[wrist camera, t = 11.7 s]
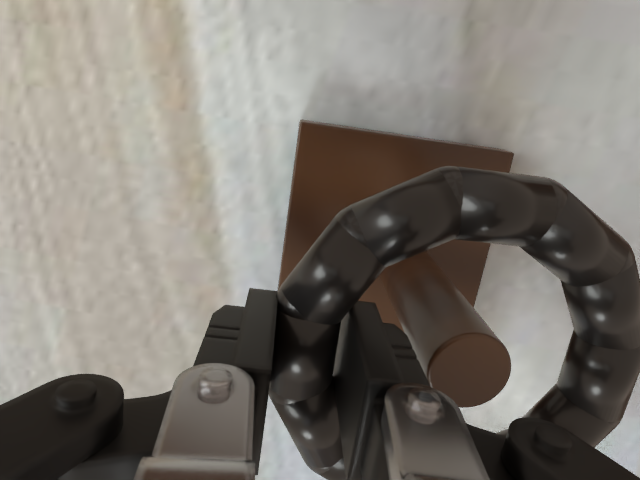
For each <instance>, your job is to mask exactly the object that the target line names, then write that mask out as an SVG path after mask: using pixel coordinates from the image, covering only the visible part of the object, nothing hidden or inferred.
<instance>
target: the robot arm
mask: <svg viewBox="0 0 640 480" xmlns="http://www.w3.org/2000/svg"><path fill="white" fill-rule="evenodd" d="M277 292H278V291H270V290H262V289H253V288H250V289H249V293H248V297H247V301H246V305H245V307H240V306H231V305H225V306H223V307H222V308H220V309H219V310H217V311H216V312H215V313H213V315H212V318H211V320H210V323H209V327H208V328H207V331H206V334H205V337H204V339H203V341H202V344H201V347H200V349H199V352H198V355H197V357H196V360H195V363H194V365H193V367H191V368H188V369H187V370H185V371H183V372H182V373H181V374H180V375H179V376H178V377H177V378H176V380H175V382H174V385H173V388H172V390H171V391H169V392H166V393H163V394H159V395H155V396H149V397H142V398H133V399H124V392H123V389H122V387H121V385H120V384H119V383H118V382H116V381H115V380H113V379H111V378H109V377H106V376H102V375H96V374H77V375H70V376H66V377H62V378H58V379H55V380H53V381H50V382H48V383H46V384H44V385H42V386H40V387H38V388H35V389H33V390H31V391H29V392H27V393H25V394H23V395H21V396H19V397H17V398H15V399H12V400H10V401H8V402H6V403H4V404H2V405H0V480H255V475H258V468H259V461H260V453H261V446H262V438H263V431H264V423H265V416H266V408H267V401H268V393H269V386H270V378H271V371H272V360H273V348H274V337H275V326H276V314H277V303H278V299H277V296H276V295H277ZM333 377H334V380H335V396H336V404H337V412H338V420H339V428H340V435H341V443H342V451H343V459H344V467H345V475H346V480H640V478H639V477H637V476H636V475H634V474H633V473H631V472H630V471H628V470H627V469H625V468H624V467H622V466H621V465H619V464H618V463H616V462H615V461H613V460H612V459H610V458H609V457H607V456H606V455H604V454H603V453H601V452H600V451H598V450H597V449H595V448H594V447H592V446H591V445H589V444H588V443H586V442H585V441H583V440H582V439H580V438H579V437H577V436H576V435H574V434H573V433H571V432H570V431H568V430H566V429H565V428H563V427H561V426H559V425H556V424H554V423H552V422H549V421H546V420H542V419H538V418H529V417H525V418H519V419H516V420H514V421H512V423H511V424H510V426H509V429H508V432H507V435H506V436H502V435H499V434H496V433H493V432H490V431H486V430H483V429H480V428H477V427H474V426H471V425H469V424H467V423H465V420H464V418H463V416H462V413H461V411H460V409H459V407H458V406H457V404H456V403H455V402H454V401H453V400H452V399H451V398H450V397H449V396H447V395H446V394H444V393H443V392H441V391H439V390H437V389H435V388H432V387H430V384H429V382H428V380H427V378H426V376H425V373H424V371H423V369H422V367H421V365H420V362H419V360H418V359H417V356H416V354H415V351H414V349H412V345H411V343H410V340H409V338H408V336H407V335H406V334H405V333H404V332H403V331H402V330H401V329H400V328H398V327H397V326H396V325H395V324H391V323H383V322H382V319H381V316H380V314H379V311H378V308H377V306H376V303H374V302H365V301H357V302H356V304H355V305H354V306H353V307H352V308H351V309H350V311H349V312H348V313H347V314H346V316H345V317H344V318H343V319H342V320H341V326H340V332H339V339H338V345H337V352H336V358H335V364H334V371H333Z"/></svg>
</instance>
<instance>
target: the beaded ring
mask: <svg viewBox="0 0 640 480" xmlns="http://www.w3.org/2000/svg"><path fill="white" fill-rule="evenodd" d="M454 239H456V240H465V241H475V242H484V243H493V244H503V245H512V246H519V247H521V248H522V249H523V250H524V251H526V252H527V253H528V254H529V255H531V256H532V257H533V258H534V259H536V260H537V261H538V262H539V263H541V264H542V265H543V266H544V267H546V268H547V269H548V270H549V271H551V272H552V273H553V274H554V275H556V276H557V277H558V278H559V279H560V280H561V283H562V287H563V290H564V294H565V298H566V301H567V305H568V309H569V312H570V316H571V320H572V323H573V327H574V331H573V334H572V337H571V340H570V343H569V346H568V350H567V353H566V356H565V359H564V362H563V365H562V368H561V372H560V375H559V378H558V381H557V383H556V384H555V385H554V386H553V387H552V388H551V389H550V390H549V391H548V392H547V393H546V394H545V395H544V396H543V397H542V398H541V399H540V400H539V401H538V402H537V403H536V404H535V405H534V406H533V407H532V408H531V409H530V410H529V412H528V413H527V414H526V415H525V416H524V417H523V418H525V417H529V418H538V419H542V420H546V421H549V422H552V423H554V424H556V425H559V426H561V427H563V428H565V429H566V430H568V431H570V432H571V433H573V434H574V435H576V436H577V437H579V438H580V439H582V440H583V441H585V442H586V443H588V444H589V445H591V446H592V447H595V446H596V445H597V444H599V443H600V442H601V441H602V440H603V439H604V438H605V437H606V436H607V435H608V434H609V433H610V432H611V431H612V430H613V429H614V428H616V426H617V425H618V424H619V423H620V421H621V419H622V417H623V415H624V412H625V409H626V407H627V404H628V401H629V399H630V396H631V393H632V391H633V388H634V385H635V383H636V380H637V377H638V375H639V372H640V279H639V274H638V270H637V265H636V260H635V256H634V253H633V251H632V248H631V247H630V245H629V244H628V243H627V242H626V241H625V239H624V238H622V237H621V236H620V235H619V234H618V233H617V232H615V231H614V230H613V229H612V228H611V227H610V226H609V225H607V224H606V223H605V222H604V221H603V220H602V219H601V218H599V217H598V216H597V215H596V214H595V213H594V212H593V211H591V210H590V209H589V208H588V207H587V206H586V205H585V204H583V203H582V202H581V201H580V200H579V199H578V198H577V197H575V196H574V195H573V194H572V193H571V192H570V191H569V190H567V189H566V188H565V187H564V186H563V185H561V184H560V183H558V182H557V181H555V180H552V179H550V178H545V177H539V176H530V175H522V174H514V173H506V172H498V171H490V170H482V169H473V168H465V167H457V166H444V167H439V168H437V169H434V170H431V171H429V172H427V173H424V174H422V175H419V176H417V177H415V178H412V179H410V180H408V181H405V182H403V183H400V184H398V185H396V186H393V187H391V188H389V189H386V190H384V191H381V192H379V193H377V194H374V195H372V196H370V197H367V198H365V199H362V200H360V201H358V202H355V203H353V204H351V205H349V206H347V207H345V208H343V209H342V210H341V211H340V212H339V213H338V214H337V215H336V216H335V217H334V218H333V220H332V221H331V222H330V223H329V225H328V226H327V227H326V228H325V230H324V231H323V232H322V234H321V235H320V236H319V237H318V239H317V240H316V241H315V243H314V244H313V245H312V246H311V248H310V249H309V250H308V251H307V253H306V254H305V255H304V257H303V258H302V259H301V260H300V262H299V263H298V264H297V265H296V267H295V268H294V269H293V271H292V272H291V273H290V274H289V276H288V277H287V278H286V280H285V281H284V282H283V283H282V285H281V286H280V288H279V289H278V292H277V295H276V296H277V299H278V303H277V314H276V326H275V337H274V348H273V360H272V371H271V378H270V386H269V393H268V394H269V396H270V398H271V400H272V402H273V404H274V406H275V408H276V410H277V411H278V413H279V415H280V417H281V419H282V421H283V423H284V424H285V426H286V428H287V430H288V432H289V434H290V435H291V437H292V439H293V441H294V443H295V445H296V447H297V448H298V450H299V452H300V454H301V456H302V458H303V460H304V461H305V463H306V464H307V466H308V467H309V468H310V469H311V470H313V471H314V472H315V473H317V474H319V475H321V476H322V477H324V478H326V479H328V480H346V475H345V467H344V459H343V451H342V443H341V435H340V428H339V420H338V412H337V404H336V396H335V380H334V377H333V371H334V364H335V358H336V352H337V345H338V339H339V332H340V326H341V320H342V319H343V318H344V317H345V316H346V314H347V313H348V312H349V311H350V309H351V308H352V307H353V306H354V305H355V304H356V302H357V301H358V300H359V299H360V298H361V296H362V295H363V294H364V293H365V292H366V290H367V289H368V288H369V287H370V286H371V284H372V283H373V282H374V281H375V280H376V278H377V277H378V276H379V275H380V274H381V272H382V271H383V270H384V269H385V268H386V267H388V266H390V265H393V264H395V263H398V262H400V261H403V260H405V259H407V258H410V257H412V256H415V255H417V254H420V253H422V252H425V251H427V250H429V249H432V248H434V247H437V246H439V245H442V244H444V243H446V242H449V241H451V240H454ZM507 432H508V429H506V430H503V431H501V432H498V433H496V434H499V435H502V436H506V435H507Z"/></svg>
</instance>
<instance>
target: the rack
mask: <svg viewBox="0 0 640 480" xmlns="http://www.w3.org/2000/svg"><path fill="white" fill-rule="evenodd" d="M513 156H514V153H512V152H509V151H505V150H501V149H496V148H490V147H483V146H476V145H469V144H463V143H456V142H449V141H442V140H436V139H429V138H422V137H415V136H409V135H402V134H395V133H388V132H382V131H375V130H368V129H361V128H355V127H348V126H341V125H334V124H328V123H321V122H314V121H307V120H300V122H299V130H298V138H297V146H296V153H295V161H294V169H293V176H292V184H291V192H290V199H289V207H288V215H287V223H286V230H285V238H284V246H283V253H282V261H281V269H280V276H279V284H278V289H279V288H280V286H281V285H282V283H283V282H284V281H285V280H286V278H287V277H288V276H289V274H290V273H291V272H292V271H293V269H294V268H295V267H296V265H297V264H298V263H299V262H300V260H301V259H302V258H303V257H304V255H305V254H306V253H307V251H308V250H309V249H310V248H311V246H312V245H313V244H314V243H315V241H316V240H317V239H318V237H319V236H320V235H321V234H322V232H323V231H324V230H325V228H326V227H327V226H328V225H329V223H330V222H331V221H332V220H333V218H334V217H335V216H336V215H337V214H338V213H339V212H340V211H341V210H342V209H343V208H345V207H347V206H349V205H351V204H353V203H355V202H358V201H360V200H362V199H365V198H367V197H370V196H372V195H374V194H377V193H379V192H381V191H384V190H386V189H389V188H391V187H393V186H396V185H398V184H400V183H403V182H405V181H408V180H410V179H412V178H415V177H417V176H419V175H422V174H424V173H427V172H429V171H431V170H434V169H437V168H439V167H444V166H457V167H465V168H473V169H482V170H490V171H498V172H506V173H509V171H510V168H511V164H512V160H513ZM489 247H490V243H484V242H475V241H465V240H456V239H454V240H451V241H449V242H446V243H444V244H442V245H439V246H437V247H434V248H432V249H429V250H427V251H425V252H422V253H420V254H417V255H415V256H412V257H410V258H407V259H405V260H403V261H400V262H398V263H395V264H393V265H390V266H388V267H386V268H385V269H384V270H383V271H382V272H381V274H380V275H379V276H378V277H377V278H376V280H375V281H374V282H373V283H372V284H371V286H370V287H369V288H368V289H367V290H366V292H365V293H364V294H363V295H362V296H361V298H360V299H359V300H358V301H365V302H374V303H376V306H377V308H378V311H379V314H380V316H381V319H382V322H383V323H391V324H395V325H396V326H397V327H398V328H400V329H401V330H402V331H403V332H404V333H405V334H406V335H407V336H408V338H409V340H410V343H411V345H412V349H414V351H415V354H416V356H417V359H418V360H419V362H420V365H421V367H422V369H423V371H424V373H425V376H426V378H427V380H428V382H429V384H430V387H432V388H435V389H437V390H439V391H441V392H443V393H444V394H446V395H447V396H449V397H450V398H451V399H452V400H453V401H454V402H455V403H456V404H457V406H458V407H473V406H477V405H481V404H483V403H486V402H487V401H489V400H491V399H492V398H494V397H495V396H496V395H497V394H499V392H500V391H501V390H502V389H503V388H504V386H505V385H506V383H507V381H508V379H509V376H510V371H511V360H510V355H509V353H508V351H507V349H506V347H505V346H504V345H503V343H502V342H501V341H500V340H499V339H498V337H497V336H496V335H495V334H494V332H493V331H492V330H491V329H490V328H489V326H488V325H487V324H486V323H485V322H484V320H483V319H482V318H481V317H480V315H479V314H478V313H477V312H476V311H475V309H474V304H475V300H476V296H477V292H478V289H479V285H480V281H481V277H482V274H483V270H484V266H485V262H486V258H487V255H488V251H489Z"/></svg>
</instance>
